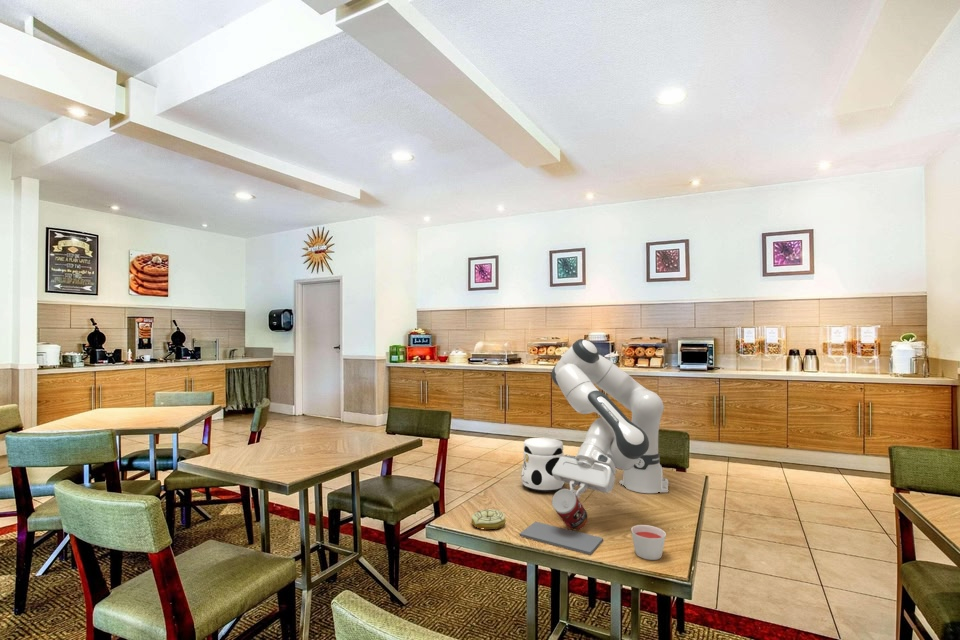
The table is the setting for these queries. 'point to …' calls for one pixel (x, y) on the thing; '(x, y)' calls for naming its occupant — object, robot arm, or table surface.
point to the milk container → (541, 464)
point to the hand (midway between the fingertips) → (573, 496)
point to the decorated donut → (488, 519)
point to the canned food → (569, 509)
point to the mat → (562, 537)
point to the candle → (648, 541)
